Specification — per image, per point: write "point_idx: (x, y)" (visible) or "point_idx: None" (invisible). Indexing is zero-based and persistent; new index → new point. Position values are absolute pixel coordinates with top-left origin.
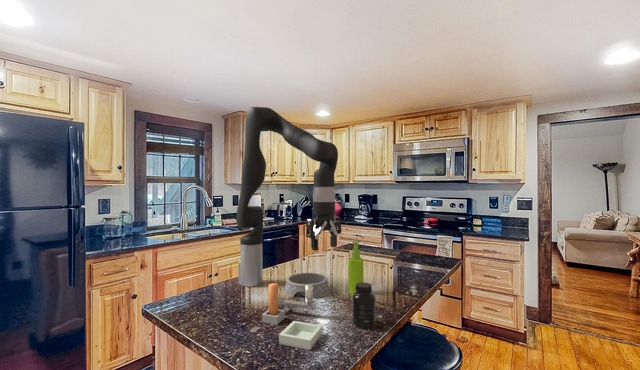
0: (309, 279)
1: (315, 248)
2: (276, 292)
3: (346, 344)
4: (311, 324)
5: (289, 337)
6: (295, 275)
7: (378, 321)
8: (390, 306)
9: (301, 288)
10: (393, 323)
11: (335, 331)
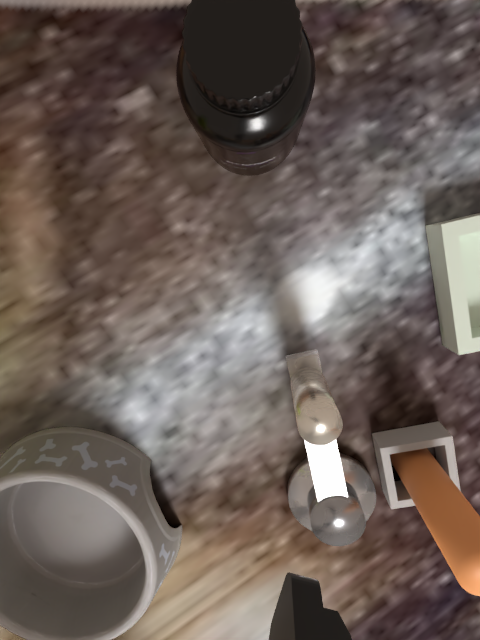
0: (5, 568)
1: (320, 613)
2: (473, 520)
3: (453, 97)
4: (454, 270)
5: None
6: (47, 634)
7: None
8: (6, 107)
9: (153, 523)
10: (170, 9)
11: (375, 195)
